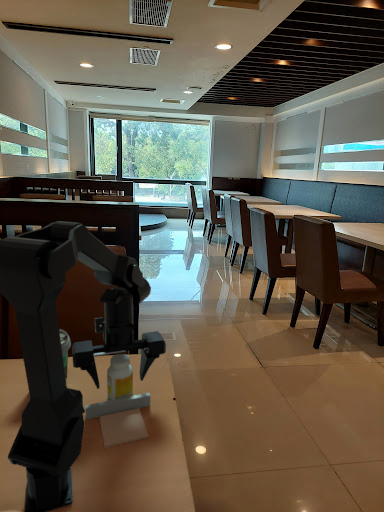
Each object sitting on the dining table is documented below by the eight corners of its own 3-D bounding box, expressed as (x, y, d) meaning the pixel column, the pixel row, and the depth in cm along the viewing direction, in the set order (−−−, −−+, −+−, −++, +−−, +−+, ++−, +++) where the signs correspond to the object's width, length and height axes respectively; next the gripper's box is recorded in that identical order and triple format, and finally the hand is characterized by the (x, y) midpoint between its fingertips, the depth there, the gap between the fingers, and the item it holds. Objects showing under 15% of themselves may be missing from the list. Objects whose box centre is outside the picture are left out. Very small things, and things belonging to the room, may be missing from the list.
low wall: (150, 405, 72) (150, 395, 72) (86, 419, 68) (85, 408, 67) (149, 402, 73) (149, 392, 73) (85, 416, 69) (85, 405, 68)
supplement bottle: (102, 401, 73) (101, 361, 71) (116, 387, 78) (116, 349, 76) (124, 408, 71) (123, 368, 69) (137, 394, 76) (137, 355, 74)
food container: (50, 399, 73) (47, 357, 71) (26, 393, 75) (22, 352, 72) (83, 368, 85) (81, 331, 82) (61, 364, 86) (59, 327, 84)
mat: (148, 437, 64) (148, 435, 64) (104, 448, 61) (104, 446, 61) (139, 409, 71) (139, 408, 71) (99, 418, 68) (99, 416, 68)
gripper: (153, 298, 80) (152, 357, 84) (69, 306, 74) (72, 370, 78) (167, 317, 70) (165, 383, 74) (71, 329, 64) (75, 401, 68)
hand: (120, 383), depth 74 cm, fingers open, 9 cm apart
